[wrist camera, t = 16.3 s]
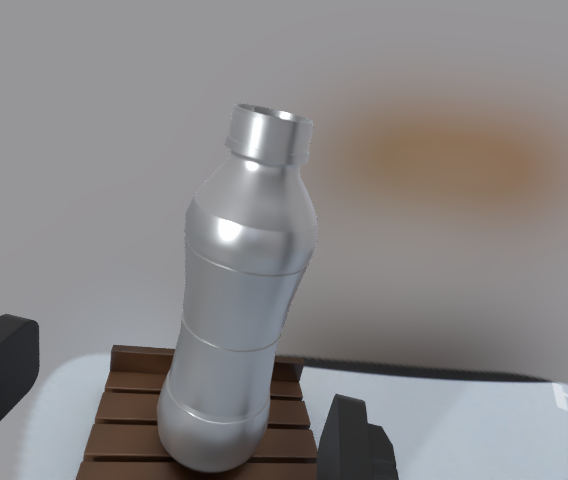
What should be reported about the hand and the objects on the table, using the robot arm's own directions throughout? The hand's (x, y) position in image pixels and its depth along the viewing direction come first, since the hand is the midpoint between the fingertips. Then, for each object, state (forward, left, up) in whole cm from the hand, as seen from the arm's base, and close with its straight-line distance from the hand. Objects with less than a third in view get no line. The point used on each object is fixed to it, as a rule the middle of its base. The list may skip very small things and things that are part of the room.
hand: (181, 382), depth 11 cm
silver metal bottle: (+5, -9, -14) cm, 17 cm away
